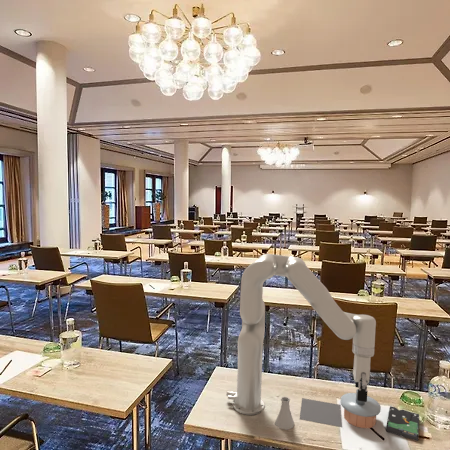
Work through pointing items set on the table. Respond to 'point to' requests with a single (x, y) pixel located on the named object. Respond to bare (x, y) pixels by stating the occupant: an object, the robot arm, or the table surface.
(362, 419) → the bowl
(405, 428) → the disk drive
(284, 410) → the flask
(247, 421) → the table surface
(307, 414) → the mat
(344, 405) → the lid
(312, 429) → the table surface
